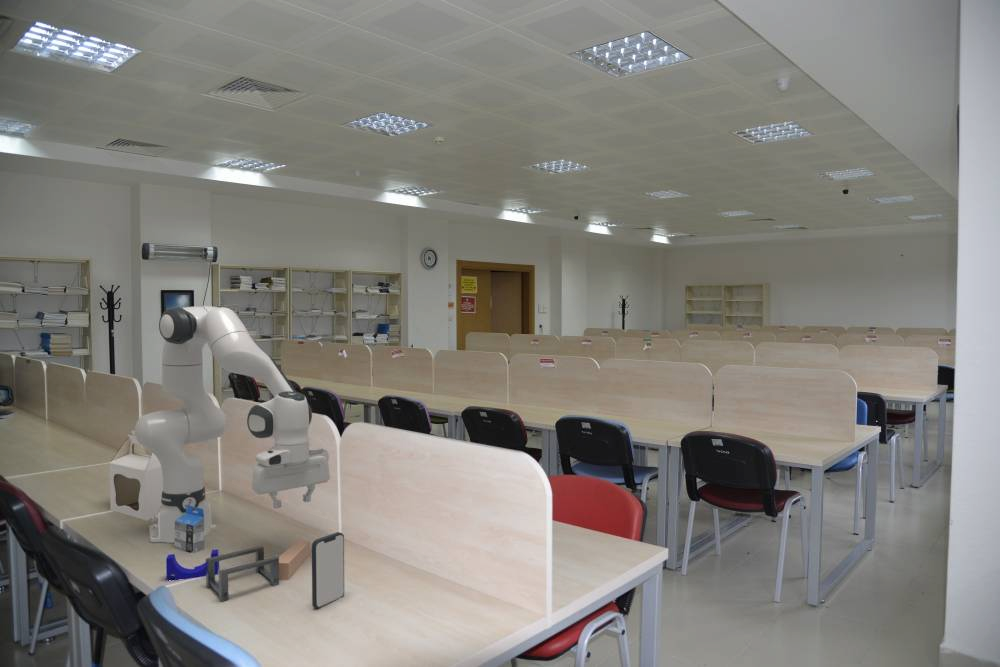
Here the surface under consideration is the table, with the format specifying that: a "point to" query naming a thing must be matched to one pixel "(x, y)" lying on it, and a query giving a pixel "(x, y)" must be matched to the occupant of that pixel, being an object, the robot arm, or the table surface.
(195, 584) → the table surface
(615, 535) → the table surface
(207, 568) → the grey metal frame stand
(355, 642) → the table surface
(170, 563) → the blue curved cradle stand
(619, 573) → the table surface
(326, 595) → the black smartphone
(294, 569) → the salmon orange rectangular block
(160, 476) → the gable box
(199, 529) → the label tape box
